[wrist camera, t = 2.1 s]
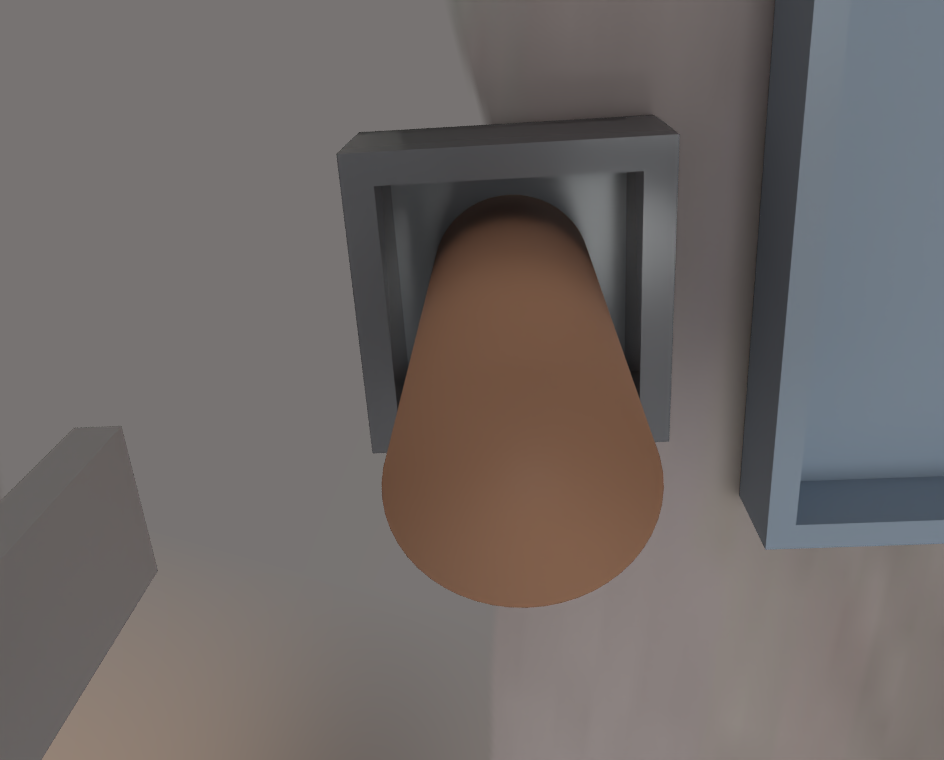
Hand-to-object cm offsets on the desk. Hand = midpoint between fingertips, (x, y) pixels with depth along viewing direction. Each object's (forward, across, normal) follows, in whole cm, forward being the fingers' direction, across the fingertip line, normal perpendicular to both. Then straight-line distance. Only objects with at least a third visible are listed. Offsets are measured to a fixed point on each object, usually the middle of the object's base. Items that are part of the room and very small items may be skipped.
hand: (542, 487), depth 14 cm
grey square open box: (+13, 0, 0) cm, 13 cm away
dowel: (+12, 0, 0) cm, 12 cm away
